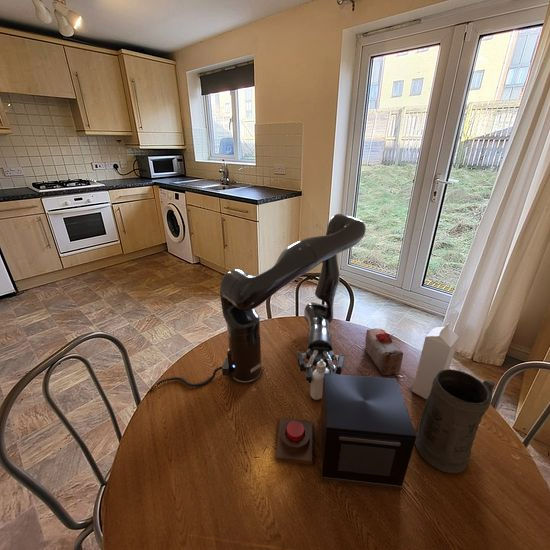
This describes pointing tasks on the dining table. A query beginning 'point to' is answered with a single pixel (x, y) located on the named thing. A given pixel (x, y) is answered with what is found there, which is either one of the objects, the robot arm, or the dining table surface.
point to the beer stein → (452, 419)
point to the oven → (364, 431)
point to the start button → (295, 431)
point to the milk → (434, 358)
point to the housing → (294, 444)
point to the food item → (383, 351)
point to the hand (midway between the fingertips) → (321, 381)
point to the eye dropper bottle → (318, 380)
